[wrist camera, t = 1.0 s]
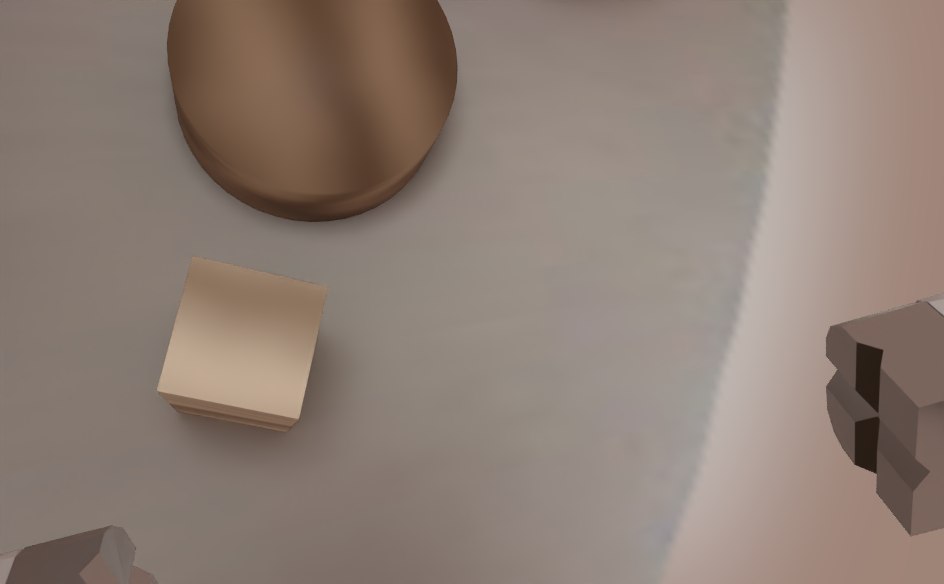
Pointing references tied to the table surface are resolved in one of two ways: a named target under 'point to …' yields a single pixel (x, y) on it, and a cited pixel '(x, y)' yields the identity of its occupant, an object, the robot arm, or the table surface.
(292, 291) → the ash block
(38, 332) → the table surface
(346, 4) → the walnut plinth
